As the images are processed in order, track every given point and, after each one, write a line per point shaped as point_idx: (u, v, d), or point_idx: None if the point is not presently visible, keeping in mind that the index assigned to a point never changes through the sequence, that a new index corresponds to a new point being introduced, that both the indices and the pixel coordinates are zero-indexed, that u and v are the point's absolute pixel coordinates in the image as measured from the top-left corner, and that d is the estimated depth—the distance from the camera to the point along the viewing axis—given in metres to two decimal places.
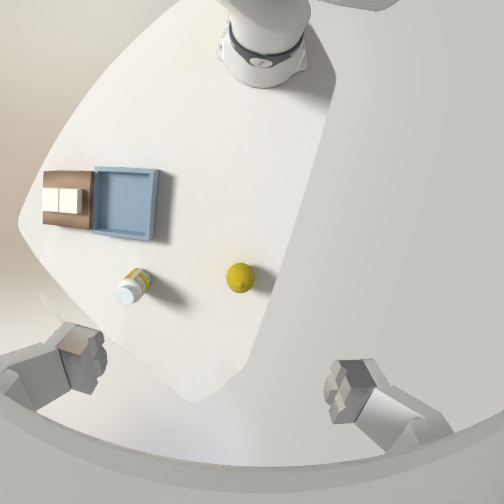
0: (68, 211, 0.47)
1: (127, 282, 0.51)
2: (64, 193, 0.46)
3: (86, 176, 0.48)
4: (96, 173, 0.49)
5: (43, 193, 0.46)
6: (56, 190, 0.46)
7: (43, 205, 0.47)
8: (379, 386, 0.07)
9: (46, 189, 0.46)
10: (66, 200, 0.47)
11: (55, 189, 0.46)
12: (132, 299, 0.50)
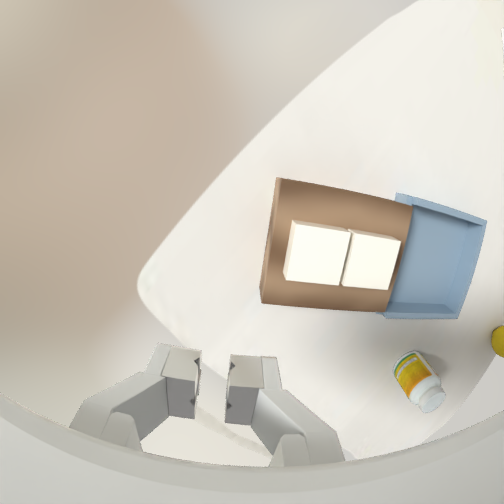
0: (369, 285, 0.25)
1: (434, 381, 0.28)
2: (367, 246, 0.24)
3: (403, 213, 0.25)
4: None
5: (299, 238, 0.23)
6: (345, 236, 0.23)
7: (293, 268, 0.24)
8: (267, 388, 0.07)
9: (311, 229, 0.23)
10: (369, 261, 0.24)
11: (342, 233, 0.23)
12: (441, 402, 0.27)
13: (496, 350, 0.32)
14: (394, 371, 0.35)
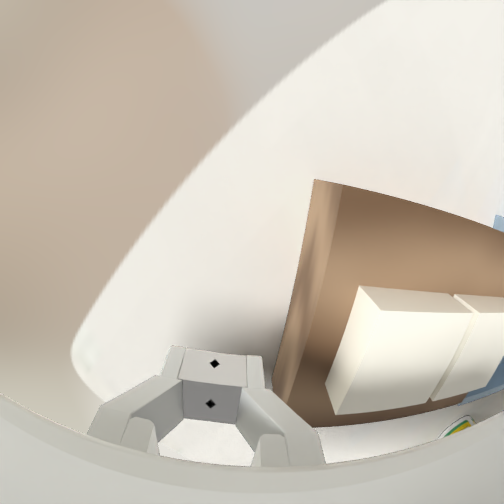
0: (467, 388, 0.10)
1: None
2: (487, 331, 0.09)
3: None
4: None
5: (380, 341, 0.08)
6: (463, 322, 0.08)
7: (355, 396, 0.09)
8: (250, 387, 0.07)
9: (411, 319, 0.08)
10: (481, 355, 0.09)
11: (460, 317, 0.08)
12: None
13: None
14: None
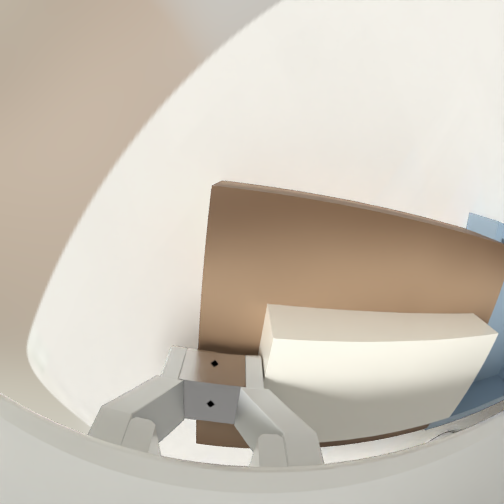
0: (420, 422, 0.09)
1: None
2: (440, 361, 0.08)
3: (498, 264, 0.09)
4: None
5: (281, 372, 0.07)
6: (408, 351, 0.07)
7: None
8: (248, 387, 0.07)
9: (322, 349, 0.07)
10: (434, 388, 0.08)
11: (403, 346, 0.07)
12: None
13: None
14: None
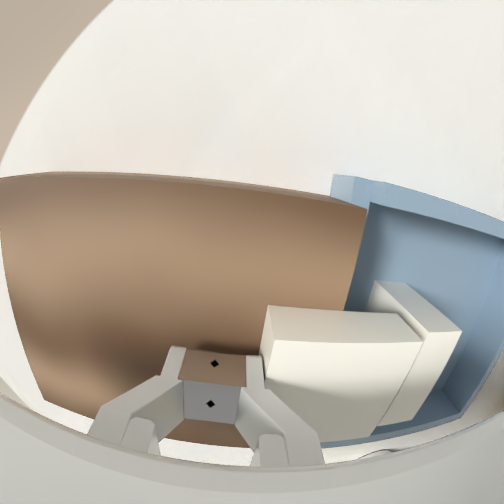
0: None
1: None
2: None
3: (329, 234, 0.08)
4: None
5: (282, 373, 0.07)
6: (408, 352, 0.07)
7: None
8: (249, 387, 0.07)
9: (322, 350, 0.07)
10: None
11: (403, 347, 0.07)
12: None
13: None
14: None
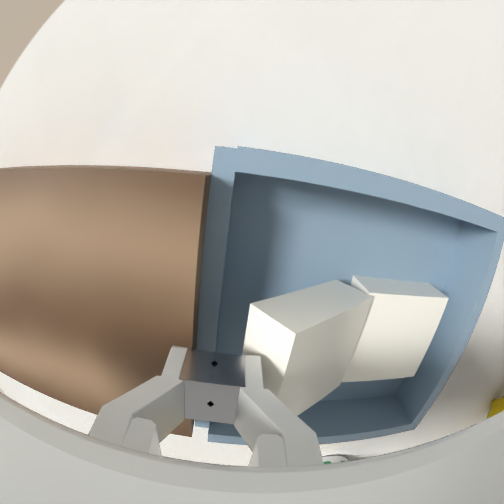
0: None
1: None
2: None
3: (166, 203, 0.08)
4: (225, 186, 0.09)
5: (297, 360, 0.08)
6: (366, 308, 0.10)
7: None
8: (248, 387, 0.07)
9: (323, 328, 0.08)
10: None
11: (363, 305, 0.10)
12: None
13: None
14: None
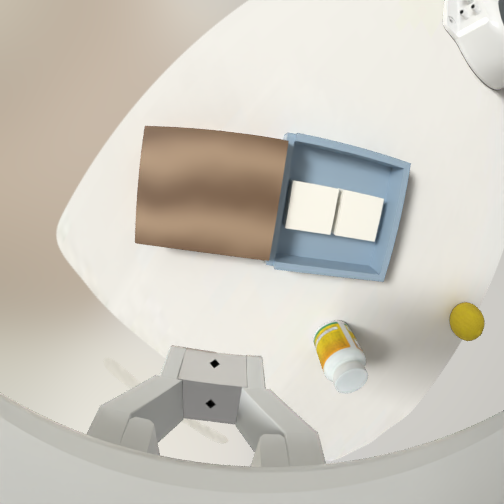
0: None
1: (352, 355, 0.28)
2: None
3: (275, 148, 0.25)
4: (291, 146, 0.26)
5: (295, 192, 0.28)
6: (334, 192, 0.28)
7: (291, 218, 0.28)
8: (250, 387, 0.07)
9: (306, 185, 0.27)
10: None
11: (332, 189, 0.28)
12: (364, 382, 0.27)
13: (455, 331, 0.33)
14: (314, 342, 0.35)
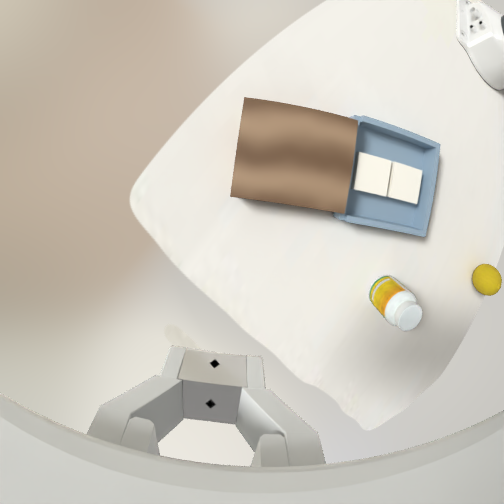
0: None
1: (408, 296, 0.33)
2: None
3: (349, 125, 0.30)
4: None
5: (361, 161, 0.32)
6: (388, 163, 0.32)
7: (358, 181, 0.33)
8: (250, 387, 0.07)
9: (368, 156, 0.32)
10: None
11: (386, 161, 0.32)
12: (419, 320, 0.32)
13: (478, 287, 0.37)
14: (369, 295, 0.40)
